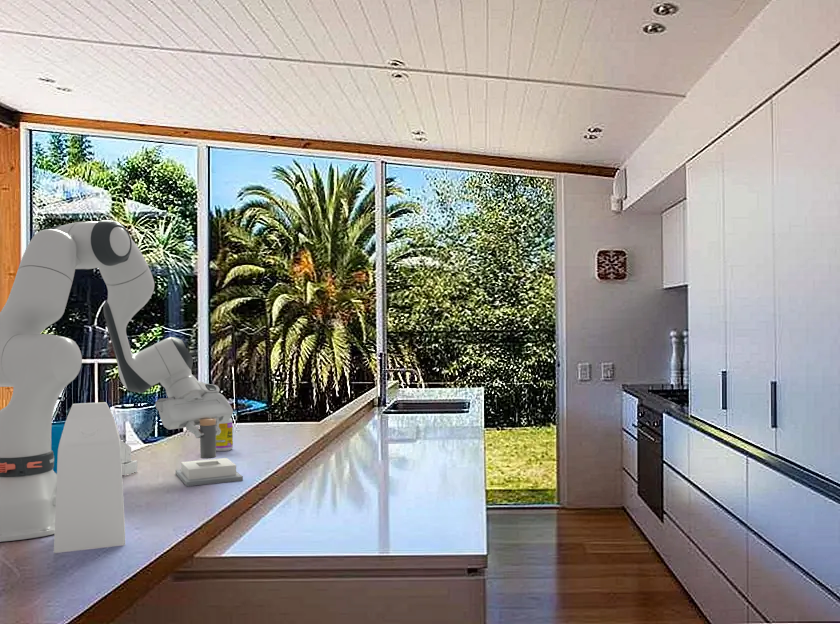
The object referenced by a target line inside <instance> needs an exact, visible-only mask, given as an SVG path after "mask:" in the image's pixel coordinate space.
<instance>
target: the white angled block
mask: <svg viewBox="0 0 840 624" xmlns="http://www.w3.org/2000/svg"><path fill="white" fill-rule="evenodd" d="M120 446H121V464H122V475H127V474H130V475H132V474H131V473H133V474H135V473H134V472H136V473H138V472H137V471H139V470H138V460H132V447H131V446H130V445H129V444H127V443H125V442H124V441H123V440H121V439H120Z"/></svg>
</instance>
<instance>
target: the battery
mask: <svg viewBox="0 0 840 624" xmlns="http://www.w3.org/2000/svg"><path fill="white" fill-rule="evenodd" d="M199 429H202V432H204V435H203V437H202V438H199V440H200V441H199V442H200V444H199V447H200V449H199V451H200V454H199V455H200V459H201V460H209V459H216V458H217V451H216V419H214V418H206V419H200V425H199Z"/></svg>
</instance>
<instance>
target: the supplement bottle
mask: <svg viewBox="0 0 840 624" xmlns="http://www.w3.org/2000/svg"><path fill="white" fill-rule="evenodd" d="M219 428H220V430H221V433H220V434H219V435H216V452H227V451H231V450H233V447H234V445H233V444H234V443H233V442H234V441H233V437H234V434H233V433H234V431H233V419H232V417H231V418H230V419H229V420H228V421H226V422H219Z"/></svg>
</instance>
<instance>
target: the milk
mask: <svg viewBox="0 0 840 624" xmlns="http://www.w3.org/2000/svg"><path fill="white" fill-rule="evenodd" d="M113 415H114V414H113V412H112V411H111V408H110V407H109V405H108V403H107V402H106V401H104V402H100V401H99V402H86V403H85V402H81V403H72V405H71V407H70V410H69V411H68V415H67V417H66V419H65V422H64V425H63V428H62V429H63V430H62V431H61V435H60V439H59V443H58V448H57V461H56V462H57V463H56V474H57V485H56V510H55V534H53V535H54V539H53V554H59V553H67V552H69V553H70V552H77V551H85V550H94V549H95V550H96V549H103V548H104V549H105V548H111V547H112V548H113V547H120V546H121V547H122V546H126V522H125V521H126V520H125V505H124V487H123V486H124V485H123V476H122V464H121V446H120V440H121V437H120V432H119V429H118V425H117V422H116V420H115V416H113Z"/></svg>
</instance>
